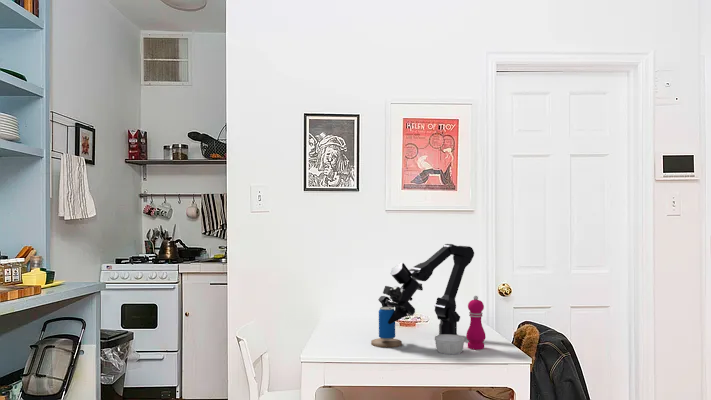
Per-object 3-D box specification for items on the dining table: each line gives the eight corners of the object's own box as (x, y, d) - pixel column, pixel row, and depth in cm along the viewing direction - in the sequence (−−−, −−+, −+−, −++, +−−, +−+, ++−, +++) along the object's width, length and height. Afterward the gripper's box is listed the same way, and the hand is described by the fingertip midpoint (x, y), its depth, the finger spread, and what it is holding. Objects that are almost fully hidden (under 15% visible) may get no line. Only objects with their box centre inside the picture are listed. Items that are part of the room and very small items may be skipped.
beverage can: (398, 338, 222) (398, 307, 223) (388, 341, 218) (388, 310, 218) (385, 335, 227) (385, 306, 227) (375, 338, 222) (375, 308, 222)
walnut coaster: (396, 339, 229) (396, 337, 229) (405, 346, 217) (405, 344, 217) (368, 341, 227) (368, 338, 227) (375, 348, 215) (375, 345, 215)
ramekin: (446, 356, 203) (446, 342, 203) (428, 350, 213) (428, 336, 213) (471, 353, 208) (471, 338, 209) (451, 346, 218) (451, 333, 218)
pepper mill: (481, 351, 211) (481, 297, 212) (463, 348, 215) (463, 296, 216) (488, 347, 217) (488, 295, 218) (470, 344, 221) (470, 293, 222)
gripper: (382, 276, 233) (359, 305, 227) (408, 280, 217) (384, 312, 211) (397, 293, 236) (375, 322, 231) (425, 299, 220) (402, 331, 215)
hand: (384, 322), depth 222 cm, fingers closed on beverage can, 6 cm apart
